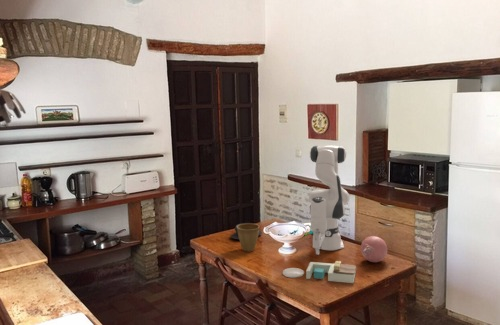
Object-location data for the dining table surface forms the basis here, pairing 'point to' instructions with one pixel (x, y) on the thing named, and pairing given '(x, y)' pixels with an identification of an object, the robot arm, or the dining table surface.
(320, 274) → the block
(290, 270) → the plate
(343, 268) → the lid
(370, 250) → the pink round piece
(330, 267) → the board
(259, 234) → the casserole
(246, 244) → the plant pot
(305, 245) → the dining table surface
